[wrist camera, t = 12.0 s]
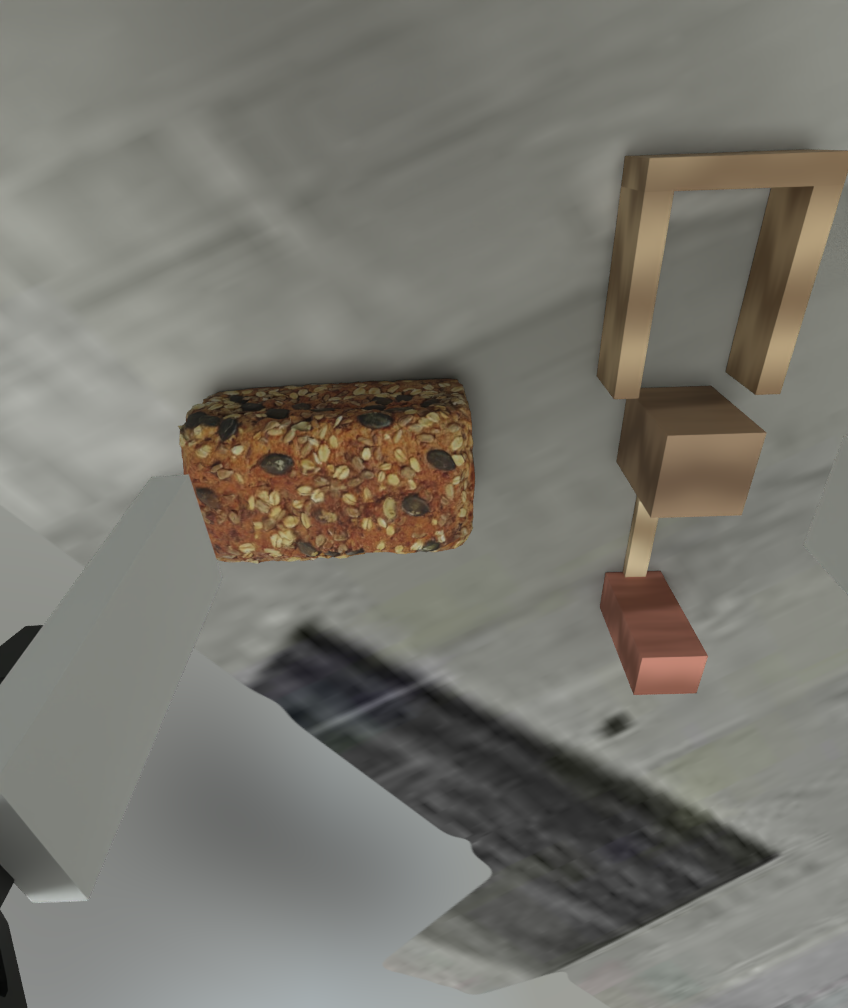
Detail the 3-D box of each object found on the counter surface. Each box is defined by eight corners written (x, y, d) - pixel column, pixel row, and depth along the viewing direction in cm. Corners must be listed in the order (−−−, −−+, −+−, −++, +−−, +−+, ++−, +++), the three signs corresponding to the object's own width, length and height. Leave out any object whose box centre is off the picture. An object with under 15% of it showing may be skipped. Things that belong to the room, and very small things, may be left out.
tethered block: (628, 388, 43) (680, 450, 34) (711, 385, 43) (783, 447, 34) (593, 607, 54) (625, 695, 45) (659, 605, 54) (704, 692, 45)
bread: (236, 503, 48) (197, 581, 39) (206, 377, 42) (153, 437, 34) (466, 495, 48) (476, 573, 39) (466, 367, 42) (478, 426, 34)
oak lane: (625, 155, 35) (649, 158, 31) (807, 149, 35) (854, 150, 31) (596, 376, 42) (614, 399, 38) (748, 371, 42) (780, 394, 38)
